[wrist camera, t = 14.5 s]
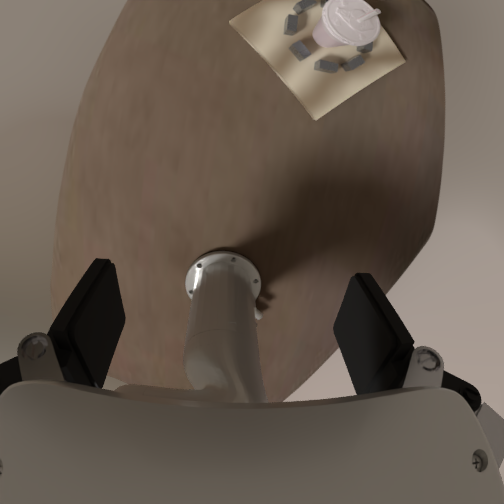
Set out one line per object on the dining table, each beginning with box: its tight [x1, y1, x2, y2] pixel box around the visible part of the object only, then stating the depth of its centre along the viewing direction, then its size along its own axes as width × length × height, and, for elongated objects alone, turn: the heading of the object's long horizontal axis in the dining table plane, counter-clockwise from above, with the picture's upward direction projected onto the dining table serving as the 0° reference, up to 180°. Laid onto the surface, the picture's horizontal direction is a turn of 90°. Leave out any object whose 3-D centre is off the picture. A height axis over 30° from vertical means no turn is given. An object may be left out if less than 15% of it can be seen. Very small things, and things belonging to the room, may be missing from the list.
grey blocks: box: [283, 0, 373, 74], centre depth 26 cm, size 11×11×2 cm
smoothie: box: [312, 0, 381, 48], centre depth 21 cm, size 6×6×14 cm
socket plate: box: [229, 0, 406, 120], centre depth 28 cm, size 18×18×2 cm
